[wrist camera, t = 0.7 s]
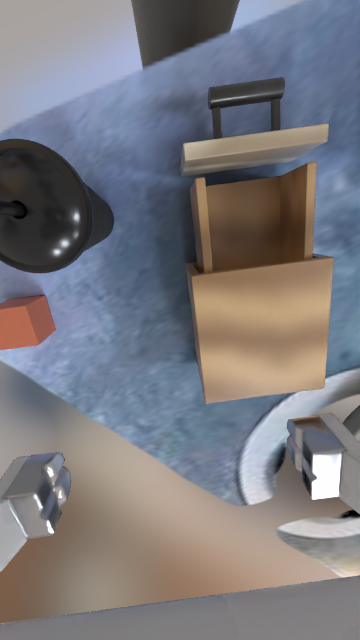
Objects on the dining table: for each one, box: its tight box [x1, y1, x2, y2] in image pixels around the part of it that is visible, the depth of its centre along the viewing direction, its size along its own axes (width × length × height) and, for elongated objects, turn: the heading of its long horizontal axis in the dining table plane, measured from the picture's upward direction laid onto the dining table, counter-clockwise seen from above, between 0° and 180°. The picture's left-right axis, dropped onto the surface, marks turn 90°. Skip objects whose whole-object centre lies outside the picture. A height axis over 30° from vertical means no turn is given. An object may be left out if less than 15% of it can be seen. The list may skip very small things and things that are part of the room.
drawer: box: [180, 77, 329, 273], centre depth 25 cm, size 17×11×7 cm
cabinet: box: [186, 254, 334, 403], centre depth 29 cm, size 14×13×9 cm
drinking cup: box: [0, 139, 114, 273], centre depth 19 cm, size 8×8×20 cm
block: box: [0, 295, 56, 350], centre depth 30 cm, size 5×5×5 cm
